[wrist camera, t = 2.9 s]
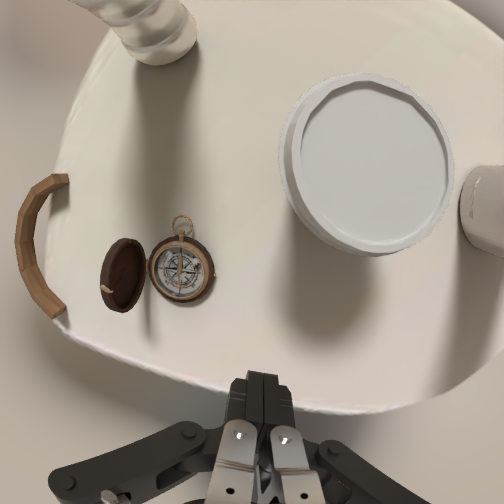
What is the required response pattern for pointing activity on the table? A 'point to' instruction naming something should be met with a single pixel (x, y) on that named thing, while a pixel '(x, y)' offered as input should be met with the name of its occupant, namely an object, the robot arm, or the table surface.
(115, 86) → the table surface
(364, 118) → the disposable coffee cup
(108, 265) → the compass
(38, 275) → the brown segmented arc
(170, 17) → the plastic bottle
